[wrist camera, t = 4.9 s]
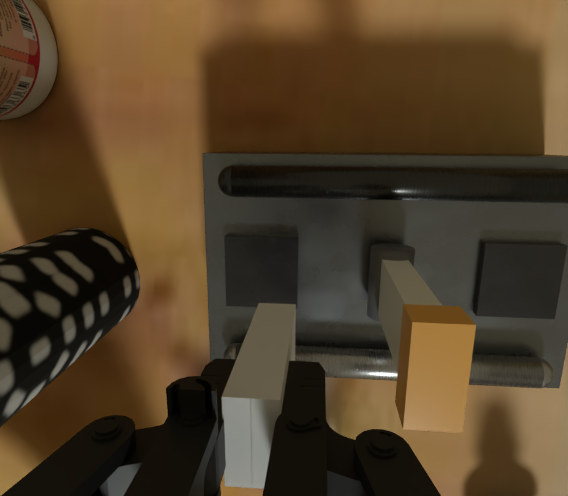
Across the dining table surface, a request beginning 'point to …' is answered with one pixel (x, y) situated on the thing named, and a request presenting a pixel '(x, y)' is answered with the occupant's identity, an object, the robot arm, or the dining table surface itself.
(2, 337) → the spotted tube
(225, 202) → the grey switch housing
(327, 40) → the dining table surface
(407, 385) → the breaker lever
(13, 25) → the fruit juice
